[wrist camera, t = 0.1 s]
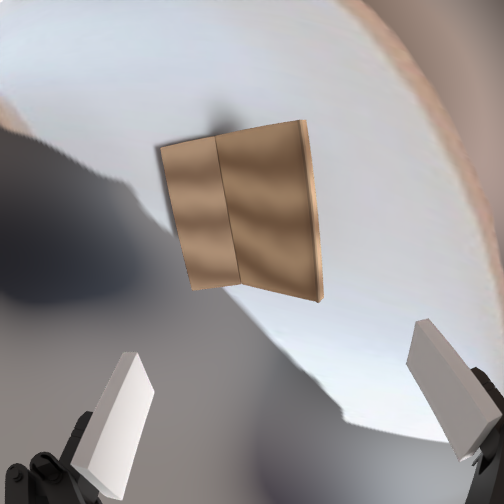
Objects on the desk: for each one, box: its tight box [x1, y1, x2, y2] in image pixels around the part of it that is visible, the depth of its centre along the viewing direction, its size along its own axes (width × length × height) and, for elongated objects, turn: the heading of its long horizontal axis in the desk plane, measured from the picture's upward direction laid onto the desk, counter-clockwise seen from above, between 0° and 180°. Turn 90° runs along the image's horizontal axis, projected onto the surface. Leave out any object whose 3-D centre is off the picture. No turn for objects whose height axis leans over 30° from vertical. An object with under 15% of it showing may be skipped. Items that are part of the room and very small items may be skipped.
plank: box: [215, 120, 324, 303], centre depth 34 cm, size 20×12×1 cm
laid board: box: [160, 136, 241, 290], centre depth 38 cm, size 20×7×1 cm, turn 9°
